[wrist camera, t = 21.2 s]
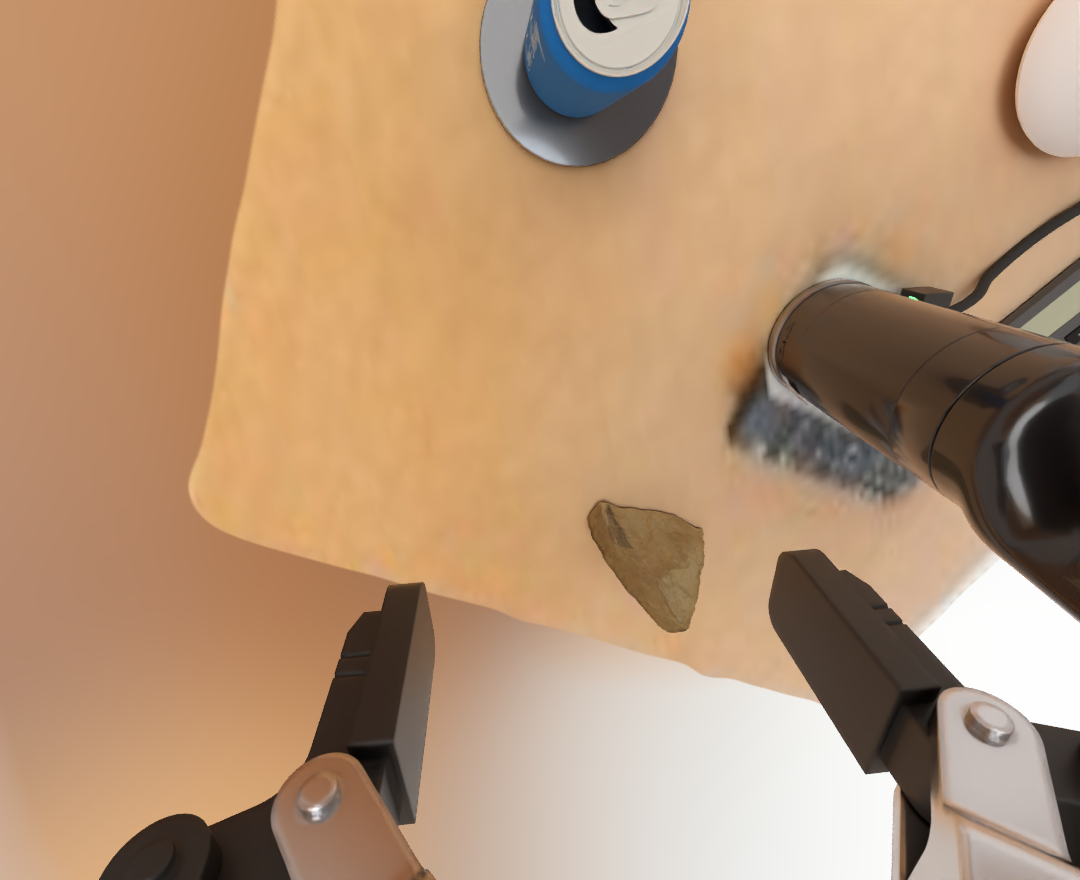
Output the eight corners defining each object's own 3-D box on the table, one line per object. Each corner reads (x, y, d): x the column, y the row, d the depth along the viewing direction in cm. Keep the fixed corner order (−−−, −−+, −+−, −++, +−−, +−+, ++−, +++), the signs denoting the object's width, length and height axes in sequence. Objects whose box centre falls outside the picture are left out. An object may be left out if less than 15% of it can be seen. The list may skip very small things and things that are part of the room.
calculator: (1044, 457, 48) (974, 355, 42) (1035, 452, 48) (964, 352, 43) (1173, 366, 44) (1114, 242, 39) (1160, 362, 45) (1101, 241, 40)
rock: (556, 540, 46) (616, 615, 48) (617, 554, 38) (684, 641, 41) (627, 459, 50) (678, 532, 53) (693, 458, 43) (749, 543, 45)
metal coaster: (680, -75, 29) (686, -83, 28) (665, 163, 35) (670, 162, 34) (470, -72, 29) (469, -80, 28) (488, 170, 34) (488, 170, 33)
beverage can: (513, -2, 29) (526, -105, 19) (624, -24, 29) (699, -140, 19) (533, 128, 32) (554, 102, 22) (634, 108, 32) (704, 73, 22)
